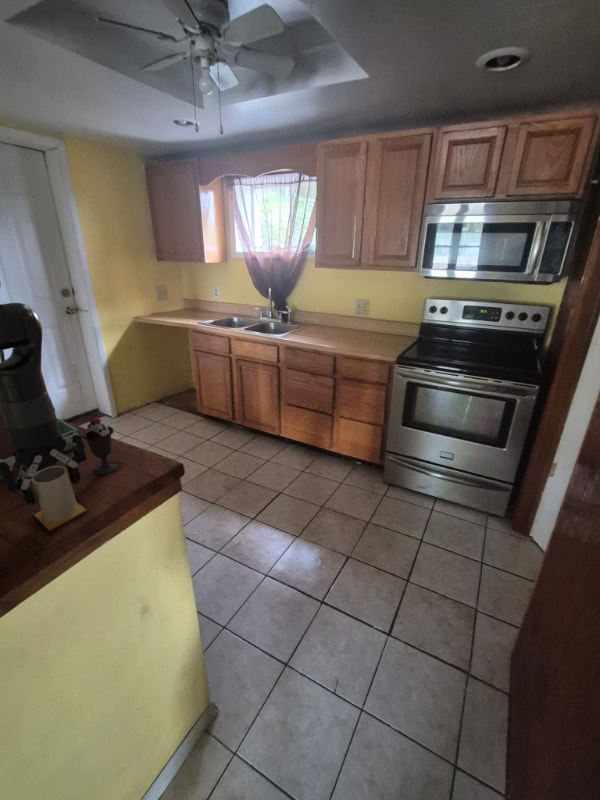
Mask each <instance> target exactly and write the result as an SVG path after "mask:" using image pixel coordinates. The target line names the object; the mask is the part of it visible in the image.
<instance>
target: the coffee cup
mask: <svg viewBox="0 0 600 800" xmlns="http://www.w3.org/2000/svg"><path fill="white" fill-rule="evenodd" d="M30 483H31V484H32V488H33V490H34V493H35V497H36V499H37V502H38V505H39V509H40V511H42V514H43V517H44V519H45V520H47V521H51V522H54V521H60V520H63V519H66V518H68V517H69V516H71V515H72V514H74V513H75V512H76V510H77V508H78V505H77V503H78V502H77V498H76V495H75V491H74V487H73V483H72V482H71V481H70V477H69V474H68V470H67V467H66V466H62V465H55V466H48V467H45V468H44V469H41V470H38V471H36V473H35V476H34V478H32V480H31V482H30Z"/></svg>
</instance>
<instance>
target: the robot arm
mask: <svg viewBox="0 0 600 800" xmlns="http://www.w3.org/2000/svg"><path fill="white" fill-rule="evenodd" d="M1 286H2V283H1V281H0V288H1ZM42 348H43V326H42V323H41V320H40V318H39V316H38V314H37V313H36V312H35V311H34V310H33V309H32V308H31V307H30V306H28V305H27V304H25V303H22V302H7V303H3V304H0V351H4V350H9V349H12V350H11V354H10V356H8V358H6V359H5V360H2V361H1V362H0V412H1V413H0V414H1V416H2V419H3V422H4V424H5V428H6V430H7V433H8V436H9V440H10V442H11V444H12V449H13V454H12V456H9V457H6V458H4V459H2V458H0V480H1V482H2V486H3V487H4V488H5V489H7V491H8V492H10V493H13V492H14V493H15V491H19V492H20V495H21V499H22V500H23V501H24V503H26V504H30V505H31V506H33V505H35V504H36V503H37V501H36V499H35V496H34V492H33V489H32V487H31V486H30V484H31V483H32V482H31V480H32V478H34V476H35V474H36V473H37V472H38V471H41V470H43V469H46V468H48V467H50V466H53V465H56V464H57V462H58V461H60V462H62V463H63V464H65V465H66V466H65V468H67V470H68V474H69V477H70V481H71V484H72V485H77V484H79V480H81V474H80V471H79V470H80V469H79V465H80V464H81V463H83V462H86V460H87V454H86V451H85V447H84V442H83V438H82V435H80V434H79V435H78V434H77V433H75V432H71V433H70V434H69V436H66V437H64V438H63V437H62V436H61V432H60V428H59V425H58V421H59V420H58V418H57V414H56V408H55V406H54V404H53V401H52V398H51V396H50V395H49V392H48V389H47V385H46V382H45V379H44V374H43V371H42V350H43V349H42ZM66 443H68V444H69V445H71V446H72V448H71V449H72V452H73V457H69V456H67V455H66V454H64V452H63V450H64V448H65V446H66ZM16 463H17V464H20V468H19V471H18V472H19V473H18V476H17V478H16V480H14V477H13V475H12V472H11V471H12V470H13V469H14V465H15V464H16Z"/></svg>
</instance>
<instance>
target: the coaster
mask: <svg viewBox="0 0 600 800" xmlns="http://www.w3.org/2000/svg"><path fill="white" fill-rule="evenodd" d="M77 505H78V508H77V510H76V512H75V513H74V514H72V515H71V516H69V517H68V518H66V519H63V520H60V521H54V522H51V521H47V520H45V519H44V517H43V514H42V511H41V510H40V511H38V512H36V513H34V514H33V515H34V517H35V519H37V520H38V521H39V522H40V523H41V524H42V525H43V526H44V527H45V528H46V529H47V530H48V531H49V532H51V531H52V530H54V529H56V528H59V527H60V526H63V525H64V524H66V523H68V522H69V521H72V520H73V519H75V518H77V517H79V516H81V515H83V514H85V513H87V511H88V510H87V509H86V508H85V507H84V506H82V505H81V504H80V503H79V502H77Z"/></svg>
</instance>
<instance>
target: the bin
mask: <svg viewBox="0 0 600 800" xmlns="http://www.w3.org/2000/svg"><path fill="white" fill-rule="evenodd" d="M57 421H58V425H59V428H60V432H61V436H62V437H63V438H64V437H66V436H69V434H70V433H71V432H75V433H77V434H78V435H80V434H79V430H78V428H76V427H74V426H73V425H70V424H69V423H68V422H65V421H63V420H62V419H60V420H57ZM71 449H73V448H72V446H71V445H69V444H68V443H66V446H65V448H64V450H63V452H62V453H64V452H66V451H69V450H71Z"/></svg>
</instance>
